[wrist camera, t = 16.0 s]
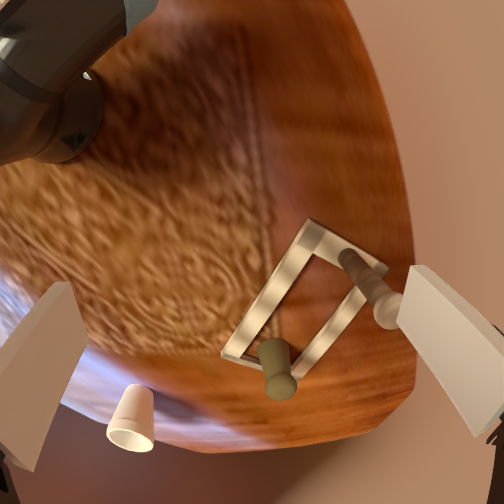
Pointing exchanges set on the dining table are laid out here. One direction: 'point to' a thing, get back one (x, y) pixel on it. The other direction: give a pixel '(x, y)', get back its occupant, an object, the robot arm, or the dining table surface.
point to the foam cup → (133, 420)
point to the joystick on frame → (366, 289)
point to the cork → (277, 369)
